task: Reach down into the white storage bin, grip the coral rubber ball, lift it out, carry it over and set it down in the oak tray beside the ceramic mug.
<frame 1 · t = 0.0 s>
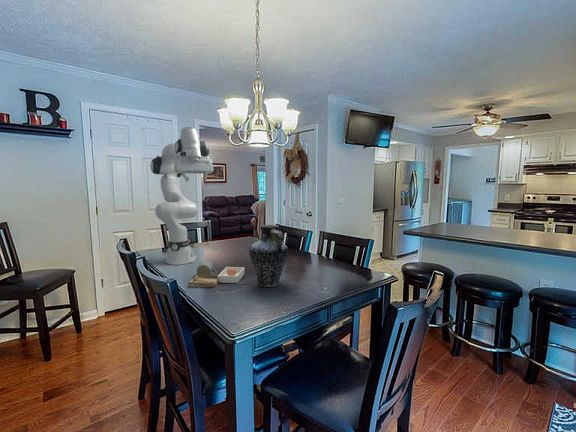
hand: (196, 180, 157), 52 cm above the table, tool tilted 20°, fingers open, 8 cm apart
ball: (231, 272, 160), point 3 cm above the table, touching white storage bin
tray: (206, 282, 153), on the table
jug: (269, 284, 150), on the table
white storage bin: (231, 277, 161), on the table
ceramic mug: (207, 275, 166), on the table
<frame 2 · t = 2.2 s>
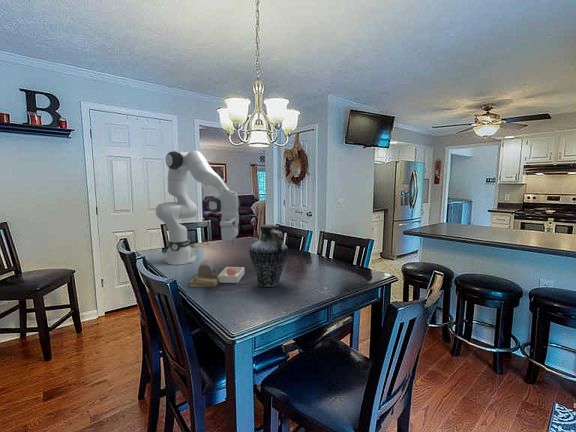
hand: (230, 246, 159), 17 cm above the table, tool pointing down, fingers open, 8 cm apart
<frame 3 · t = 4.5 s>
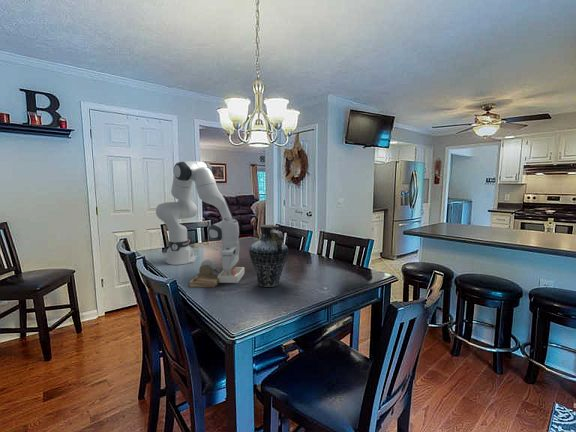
hand: (231, 273, 161), 2 cm above the table, tool pointing down, fingers closed on ball, 5 cm apart
ball: (231, 272, 160), point 3 cm above the table, touching gripper, white storage bin
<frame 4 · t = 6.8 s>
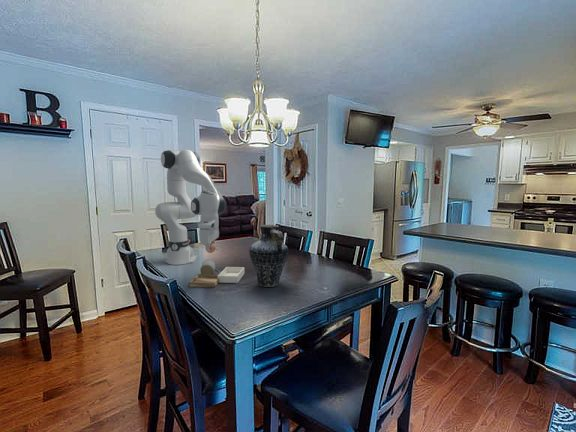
hand: (210, 249, 153), 17 cm above the table, tool pointing down, fingers closed on ball, 5 cm apart
ball: (210, 248, 153), point 18 cm above the table, touching gripper
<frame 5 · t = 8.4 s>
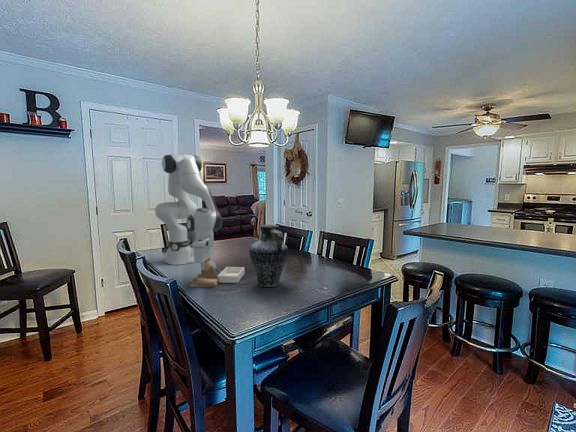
hand: (205, 267, 152), 8 cm above the table, tool pointing down, fingers closed on ball, 5 cm apart
ball: (205, 265, 151), point 9 cm above the table, touching gripper
when the fingers open (4 cm above the table, at t = 9.5 s): ball drops 2 cm, resting on tray.
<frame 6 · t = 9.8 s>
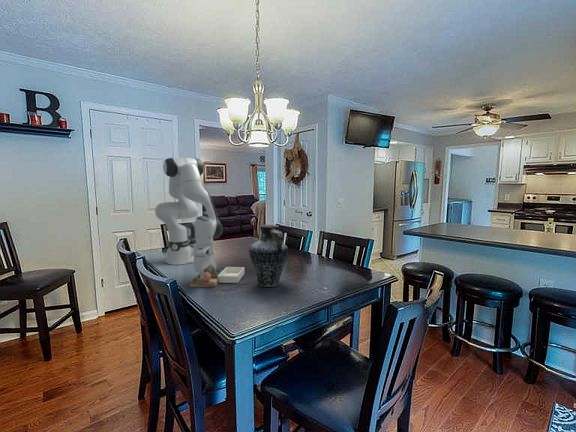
hand: (205, 275, 152), 4 cm above the table, tool pointing down, fingers open, 8 cm apart
ball: (205, 276, 152), point 3 cm above the table, touching tray
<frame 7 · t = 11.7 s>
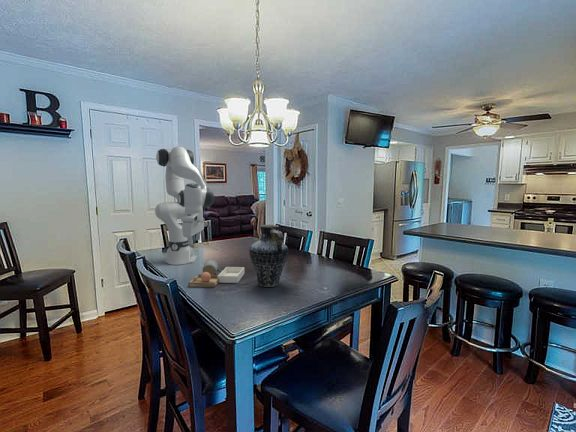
hand: (194, 242, 155), 20 cm above the table, tool pointing down, fingers open, 8 cm apart
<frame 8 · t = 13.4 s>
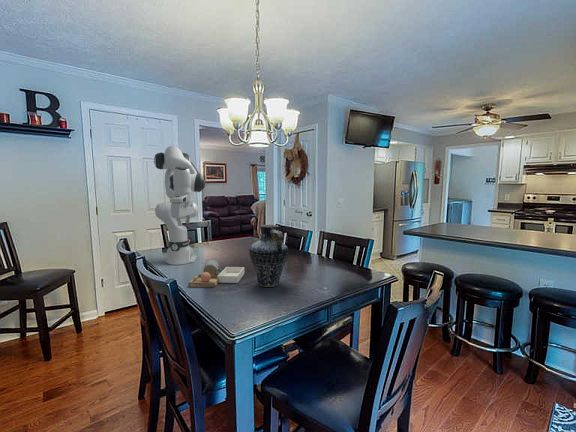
hand: (184, 224, 156), 29 cm above the table, tool pointing down, fingers open, 8 cm apart
at the end: ball inside the target area on the tray (0.2 cm from its centre), point 3.1 cm above the tray's base; the gripper is holding nothing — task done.
